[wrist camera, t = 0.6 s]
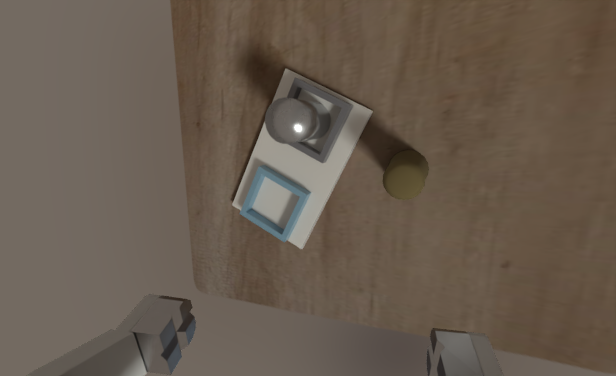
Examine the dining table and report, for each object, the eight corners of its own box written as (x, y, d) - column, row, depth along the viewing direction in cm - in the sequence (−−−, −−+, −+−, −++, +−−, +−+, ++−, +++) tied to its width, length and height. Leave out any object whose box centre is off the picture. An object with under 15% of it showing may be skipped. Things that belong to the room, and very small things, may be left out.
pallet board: (288, 69, 53) (280, 66, 50) (373, 111, 49) (370, 110, 46) (234, 203, 62) (225, 207, 59) (303, 247, 58) (297, 253, 55)
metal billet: (305, 95, 51) (274, 89, 41) (336, 111, 50) (313, 109, 40) (290, 129, 53) (258, 131, 43) (320, 145, 52) (295, 151, 42)
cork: (383, 182, 51) (372, 197, 41) (393, 145, 49) (384, 152, 39) (421, 193, 49) (420, 212, 39) (434, 155, 47) (435, 165, 37)
